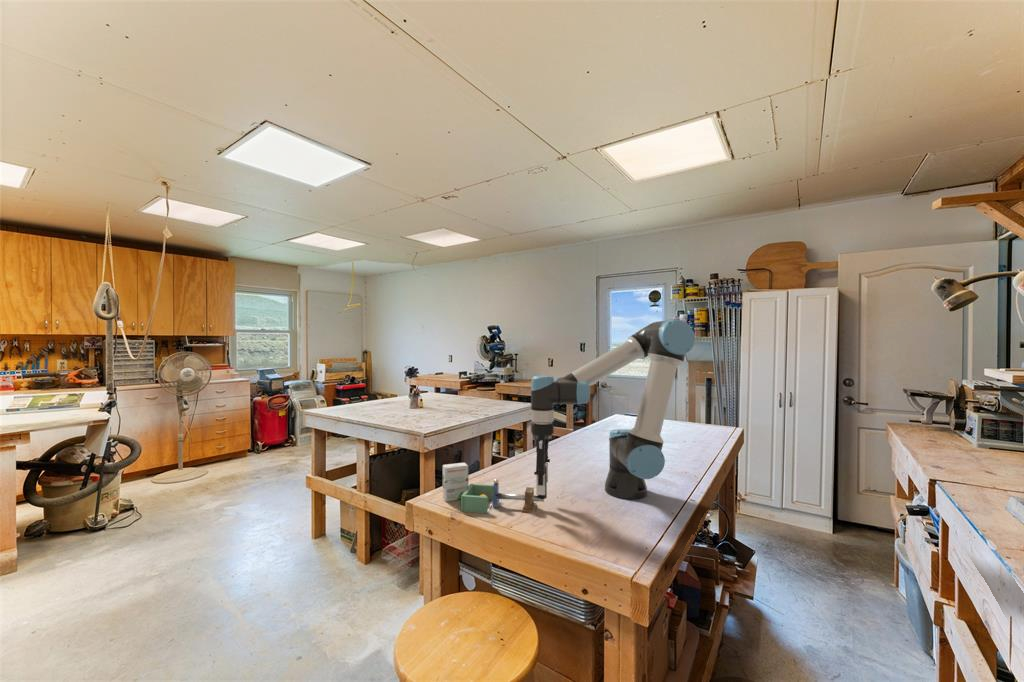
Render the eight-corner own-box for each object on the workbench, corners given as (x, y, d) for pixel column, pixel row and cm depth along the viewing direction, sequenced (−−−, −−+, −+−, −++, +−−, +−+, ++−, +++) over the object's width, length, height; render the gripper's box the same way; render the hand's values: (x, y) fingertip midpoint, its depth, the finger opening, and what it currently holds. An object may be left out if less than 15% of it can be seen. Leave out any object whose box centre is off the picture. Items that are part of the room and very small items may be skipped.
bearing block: (536, 504, 134) (536, 486, 134) (534, 513, 127) (534, 494, 127) (524, 503, 135) (524, 485, 135) (522, 512, 128) (522, 493, 128)
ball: (481, 491, 136) (477, 500, 136) (478, 494, 132) (474, 504, 132) (490, 495, 135) (486, 505, 135) (488, 499, 131) (484, 509, 132)
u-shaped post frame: (547, 506, 132) (547, 465, 132) (546, 510, 128) (546, 468, 129) (494, 503, 134) (494, 463, 135) (492, 507, 131) (492, 466, 132)
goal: (495, 499, 139) (495, 484, 139) (487, 513, 127) (487, 497, 127) (470, 497, 140) (470, 483, 140) (461, 511, 129) (461, 496, 129)
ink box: (465, 493, 144) (465, 461, 144) (468, 498, 140) (469, 465, 140) (442, 497, 141) (442, 464, 141) (445, 502, 136) (445, 468, 137)
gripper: (534, 415, 143) (534, 475, 143) (526, 429, 120) (526, 500, 119) (555, 416, 142) (555, 476, 141) (551, 429, 118) (551, 502, 118)
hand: (542, 487), depth 130 cm, fingers open, 11 cm apart
